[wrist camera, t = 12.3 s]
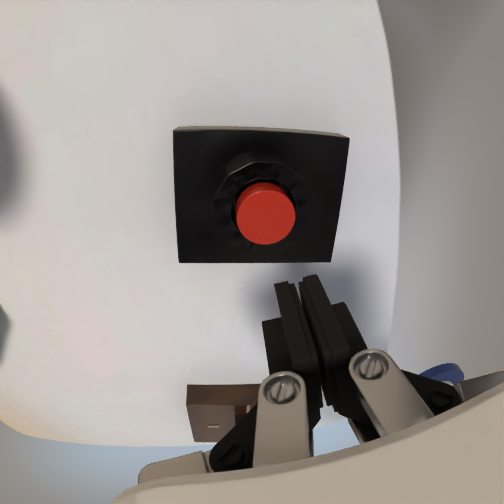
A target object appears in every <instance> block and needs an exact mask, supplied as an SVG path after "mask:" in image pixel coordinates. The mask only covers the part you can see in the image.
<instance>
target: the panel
mask: <svg viewBox="0 0 504 504" xmlns="http://www.w3.org/2000/svg"><path fill="white" fill-rule="evenodd" d="M260 385H261V384H249V385H187V398H186V406H187V411H188V416H189V420H190V425H191V429H192V434H193V438H194V442H219V441H220V440H221V439H222V438H223V437H224V436H225V435H226V434H227V433H228V432H229V431H230V430H231V429H232V428H233V427H234V426H235V417H236V416H243V415H246V414H247V413H248V412H249V411H250V410H251V409H252V408H253V406H254V405H255V404H256V403H257V402H258V394H259V388H260Z"/></svg>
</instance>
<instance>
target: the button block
mask: <svg viewBox="0 0 504 504" xmlns="http://www.w3.org/2000/svg"><path fill="white" fill-rule="evenodd" d="M349 140H350V138H348V137H346V136H343V135H341V134H338V133H329V132H319V131H308V130H297V129H283V128H265V127H237V126H188V127H177V128H176V129H175V130H173V160H174V192H175V213H176V231H177V246H178V259H179V263H312V262H331V258H332V253H333V247H334V242H335V236H336V230H337V224H338V218H339V212H340V206H341V200H342V193H343V186H344V179H345V172H346V164H347V157H348V149H349ZM264 182H265V183H272V184H275V185H277V186H279V187H280V188H281V189H282V190H284V192H285V193H286V194H287V196H288V198H289V199H290V201H291V203H292V204H293V207H294V210H295V222H294V225H293V228H292V229H291V231H290V232H289V234H288V235H287V236H286V237H285V238H283V239H282V240H280V241H278V242H276V243H273V244H266V245H264V244H257V243H254V242H251V241H250V240H248V239H247V238H245V237H244V236H243V235H242V233H241V232H240V230H239V228H238V225H237V218H236V203H237V200H238V198H239V196H240V195H241V193H242V192H243V191H244V190H245V189H246V188H248V187H249V186H251V185H253V184H257V183H264Z"/></svg>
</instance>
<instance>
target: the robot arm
mask: <svg viewBox="0 0 504 504" xmlns="http://www.w3.org/2000/svg"><path fill="white" fill-rule="evenodd" d="M298 285H299V291H300V297H301V302H300V299H299V296H298V293H297V290H296V287H295V284H294V283H293V284H289V283H288V281H285V282H281V283H276V284H274V286H275V291H276V296H277V300H278V305H279V309H280V314H281V317H280V318H275V319H271V320H266V321H262V327H263V334H264V340H265V347H266V354H267V360H268V367H269V373H270V375H269V376H268V377H267V378H266V379H264V380H263V382H262V383H261V385H260V388H259V394H258V402H257V403H256V404H255V405H254V406H253V408H252V409H251V410H250V411H249V412H248V413H247V414H246V415H245V416H244V417H243V418H242V419H241V420H240V421H239V422H238V423H237V424H236V425H235V426H234V427H233V428H232V429H231V430H230V431H229V432H228V433H227V434H226V435H225V436H224V437H223V438H222V439H221V440H220V441H219V442H218V443H217V444H216V445H215V446H214V447H213V449H212V450H210V451H206V452H202V451H198V452H194V453H191V454H187V455H183V456H179V457H175V458H171V459H168V460H163V461H159V462H154V463H151V464H148V465H146V466H145V467H144V468H143V469H141V471H140V473H139V475H138V485H136V486H133V487H131V488H129V489H127V490H125V491H123V492H122V493H121V494H119V495H118V496H117V497H116V498H115V499H114V501H113V502H112V504H504V371H499V372H495V373H492V374H488V375H485V376H481V377H477V378H473V379H469V380H464V381H460V382H457V385H453V384H452V382H450V381H437V380H434V379H430V378H427V377H424V376H420V375H417V374H414V373H411V372H407V371H404V370H400V369H399V367H398V366H397V365H396V363H395V362H394V361H393V359H392V358H391V357H390V356H389V355H388V354H387V353H386V352H384V351H382V350H378V349H368V348H367V346H366V344H365V342H364V340H363V338H362V336H361V334H360V332H359V330H358V328H357V326H356V324H355V322H354V320H353V318H352V316H351V314H350V312H349V310H348V308H347V306H346V304H345V303H344V302H341V303H337V304H333V305H331V303H330V301H329V299H328V297H327V295H326V292H325V290H324V288H323V286H322V284H321V282H320V279H319V277H318V275H317V274H315V275H310V276H306V277H303V281H301V282H298ZM301 303H302V305H301ZM321 386H322V390H323V393H324V397H325V400H326V403H327V406H330V405H333V408H334V411H335V412H338V414H340V415H342V416H345V417H347V418H348V422H349V424H350V426H351V428H352V429H353V431H354V433H355V435H356V437H357V439H358V441H359V443H360V445H356V446H353V447H350V448H346V449H343V450H339V451H335V452H331V453H328V454H323V455H319V456H315V457H314V447H313V446H314V445H313V428H314V427H315V426H316V424H317V423H318V422H319V420H320V419H321V416H320V408H322V407H323V401H322V390H321Z"/></svg>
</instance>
